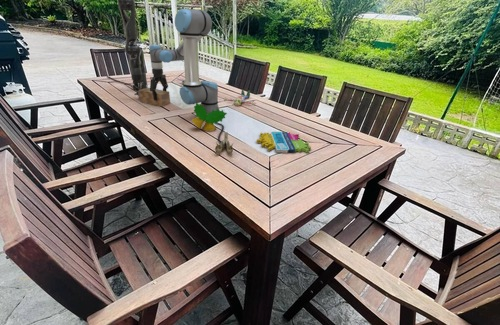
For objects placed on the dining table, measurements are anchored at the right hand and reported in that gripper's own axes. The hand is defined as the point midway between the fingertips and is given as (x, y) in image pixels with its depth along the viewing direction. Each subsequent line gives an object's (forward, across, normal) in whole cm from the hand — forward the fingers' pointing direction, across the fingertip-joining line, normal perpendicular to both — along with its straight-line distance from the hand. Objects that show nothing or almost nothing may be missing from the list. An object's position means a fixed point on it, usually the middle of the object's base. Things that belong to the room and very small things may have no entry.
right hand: (160, 98), depth 200 cm
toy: (+4, -42, +49) cm, 65 cm away
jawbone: (+4, +46, +81) cm, 94 cm away
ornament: (+4, +23, +58) cm, 63 cm away
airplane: (+4, -62, -14) cm, 64 cm away
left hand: (+1, 0, -21) cm, 21 cm away
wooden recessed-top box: (+4, 0, -5) cm, 7 cm away
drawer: (+3, 0, -11) cm, 11 cm away
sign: (+4, +20, +105) cm, 107 cm away
